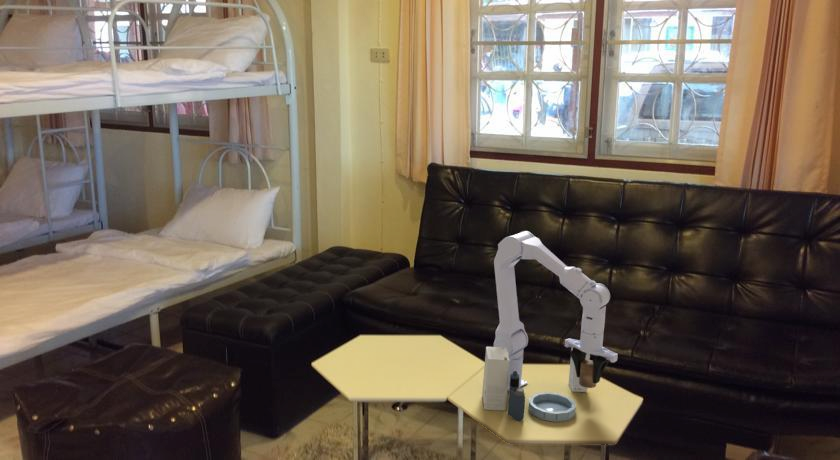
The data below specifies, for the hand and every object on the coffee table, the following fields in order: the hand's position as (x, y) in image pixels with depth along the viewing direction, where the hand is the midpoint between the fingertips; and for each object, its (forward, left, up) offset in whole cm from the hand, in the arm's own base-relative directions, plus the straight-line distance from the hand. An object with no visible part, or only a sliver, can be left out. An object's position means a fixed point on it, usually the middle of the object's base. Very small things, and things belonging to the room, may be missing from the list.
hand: (587, 379), depth 188 cm
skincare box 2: (-8, +10, -9) cm, 15 cm away
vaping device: (-10, -18, -8) cm, 22 cm away
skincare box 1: (-18, -16, -9) cm, 26 cm away
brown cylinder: (0, 0, -1) cm, 1 cm away
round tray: (-5, -8, -8) cm, 13 cm away
